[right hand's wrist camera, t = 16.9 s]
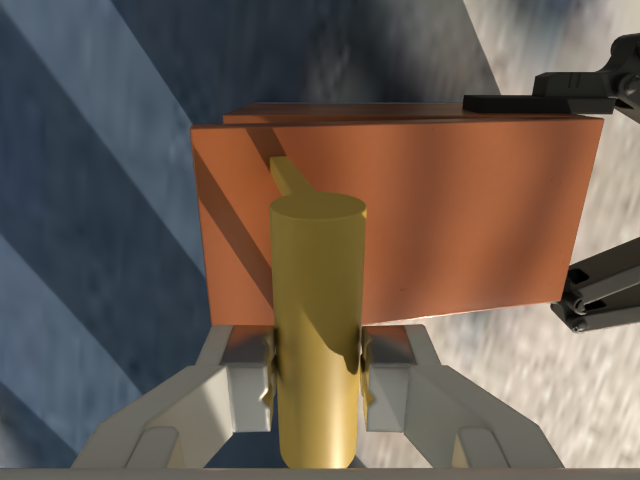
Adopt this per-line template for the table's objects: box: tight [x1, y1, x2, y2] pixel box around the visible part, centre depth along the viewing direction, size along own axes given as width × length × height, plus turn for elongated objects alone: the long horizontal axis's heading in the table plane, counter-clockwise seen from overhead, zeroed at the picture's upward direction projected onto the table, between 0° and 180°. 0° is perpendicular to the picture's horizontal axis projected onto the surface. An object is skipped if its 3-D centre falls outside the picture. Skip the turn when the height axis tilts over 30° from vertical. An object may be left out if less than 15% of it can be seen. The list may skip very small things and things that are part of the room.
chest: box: [223, 102, 584, 124], centre depth 26 cm, size 17×9×10 cm, turn 90°
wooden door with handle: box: [190, 116, 604, 468], centre depth 15 cm, size 17×9×9 cm, turn 90°
